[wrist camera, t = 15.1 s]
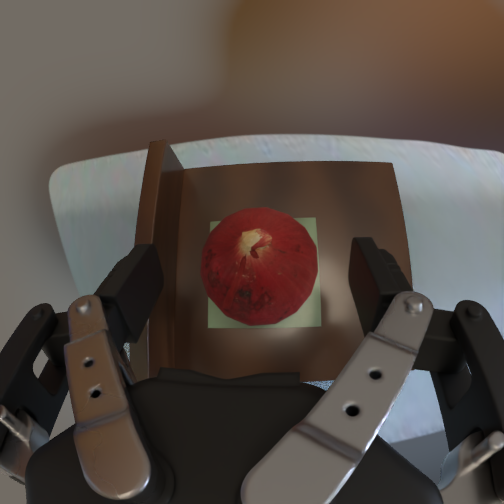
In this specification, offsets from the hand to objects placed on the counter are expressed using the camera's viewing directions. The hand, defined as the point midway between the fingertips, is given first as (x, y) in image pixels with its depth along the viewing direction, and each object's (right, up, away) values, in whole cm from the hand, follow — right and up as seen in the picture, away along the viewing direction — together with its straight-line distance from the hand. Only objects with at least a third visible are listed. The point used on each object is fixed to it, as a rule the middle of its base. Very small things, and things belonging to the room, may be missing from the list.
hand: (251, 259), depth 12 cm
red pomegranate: (+1, -1, +7) cm, 7 cm away
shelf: (+3, -1, +10) cm, 10 cm away
